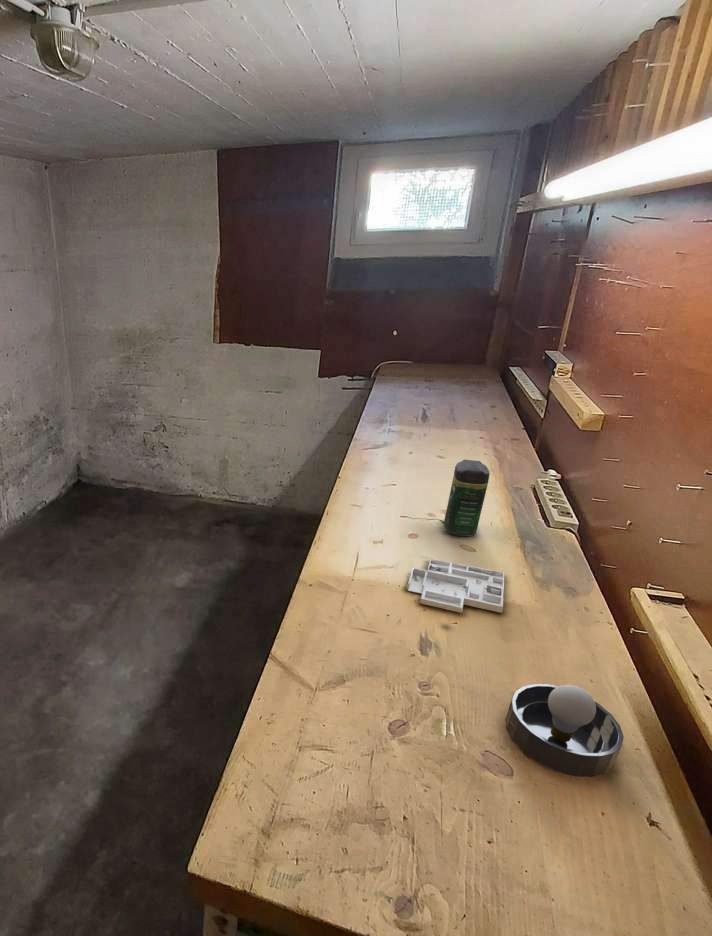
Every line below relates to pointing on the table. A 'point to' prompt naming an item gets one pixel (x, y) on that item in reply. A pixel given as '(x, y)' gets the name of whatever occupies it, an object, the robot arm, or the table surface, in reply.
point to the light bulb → (570, 710)
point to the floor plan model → (458, 586)
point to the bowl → (578, 757)
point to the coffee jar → (466, 497)
